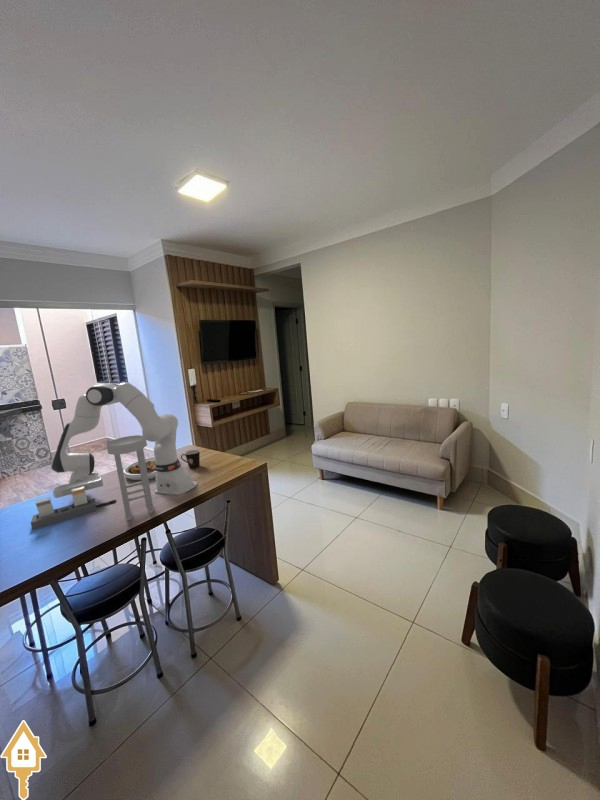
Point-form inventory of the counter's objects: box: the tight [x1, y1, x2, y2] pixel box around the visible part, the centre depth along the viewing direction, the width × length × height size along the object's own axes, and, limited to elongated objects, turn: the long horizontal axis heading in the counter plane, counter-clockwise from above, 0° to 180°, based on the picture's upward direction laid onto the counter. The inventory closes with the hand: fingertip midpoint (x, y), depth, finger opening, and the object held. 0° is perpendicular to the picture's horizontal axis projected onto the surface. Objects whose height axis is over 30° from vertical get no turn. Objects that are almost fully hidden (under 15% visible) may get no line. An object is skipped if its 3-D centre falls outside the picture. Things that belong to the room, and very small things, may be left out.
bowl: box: [123, 456, 157, 481], centre depth 196 cm, size 30×30×8 cm
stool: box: [106, 434, 155, 521], centre depth 144 cm, size 16×16×35 cm
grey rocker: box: [35, 496, 54, 516], centre depth 142 cm, size 5×2×8 cm, turn 124°
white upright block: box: [71, 487, 88, 506], centre depth 149 cm, size 5×2×8 cm, turn 124°
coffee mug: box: [180, 449, 201, 470], centre depth 199 cm, size 12×9×10 cm
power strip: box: [30, 497, 117, 531], centre depth 150 cm, size 33×8×5 cm, turn 124°
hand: (78, 492), depth 150 cm, fingers closed, pressing on white upright block
